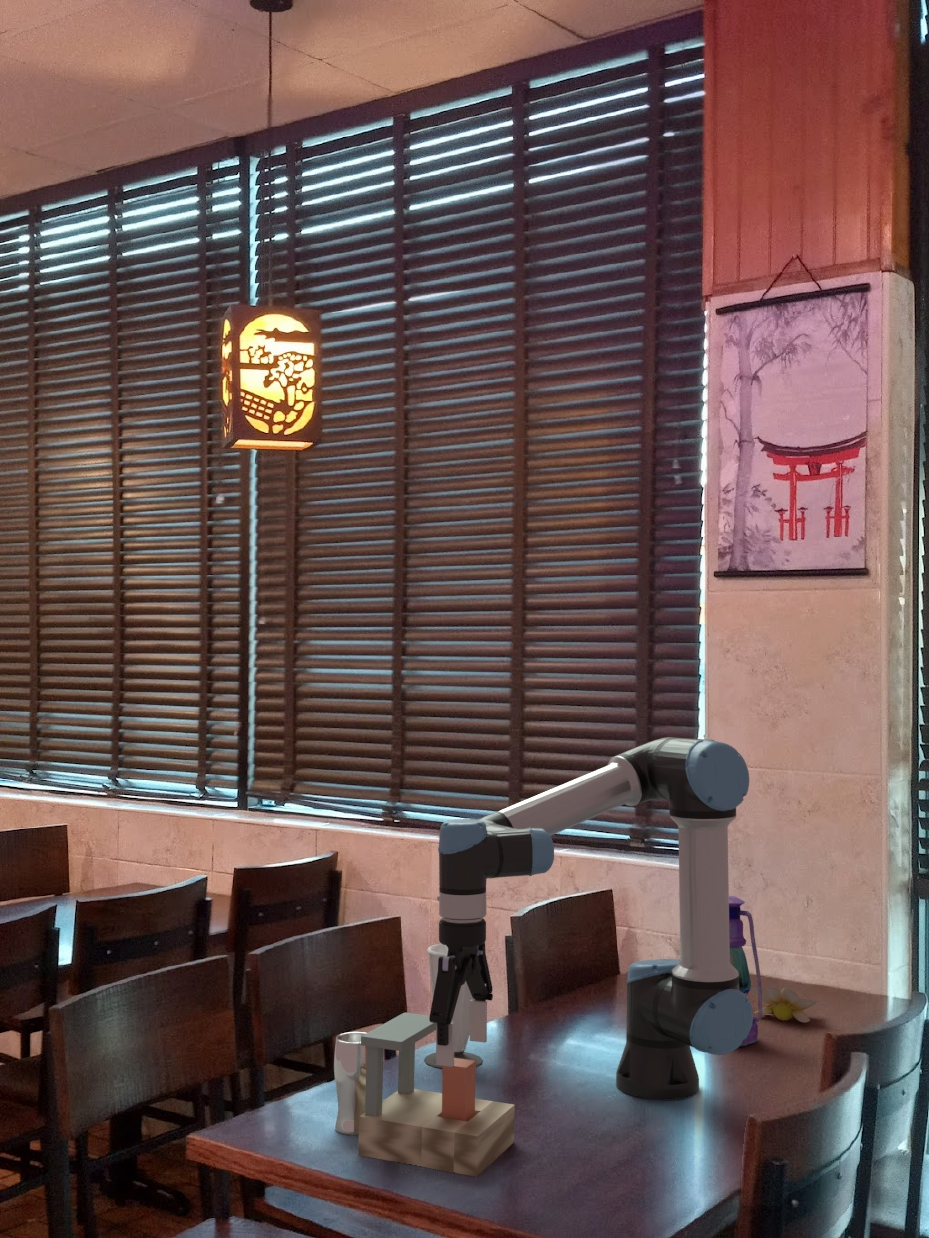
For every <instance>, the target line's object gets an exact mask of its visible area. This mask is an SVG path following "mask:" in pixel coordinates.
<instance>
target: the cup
mask: <svg viewBox="0 0 929 1238" xmlns="http://www.w3.org/2000/svg"><path fill="white" fill-rule="evenodd" d="M426 952H427V955H428V964H429V974H430V975H429V976H430V977H429V978H430V986H431V994H432V996H433V995H434V990H435V984H436V979H437V973H438V959H439V957H440V956H444V957H447V954H448V947H447V946H446V945H443V944H441V943H437V944H433V945H430V946H428V948H427V949H426ZM470 1000H475V999H473V998H472V995H471V993H470V990H469V987H468V985H467V982H466V981H465V984H463V985H462V986H461V988H460V992H459V996H458V999H457V1003H456V1007H455V1010H454V1014H453V1018H452V1021H451V1023H454V1058H460V1059H467V1060H473V1061H476V1068H477V1067H479V1066H481V1065H482V1064H483V1062H484V1060H483V1058H482V1057H481V1056H480V1055H477V1054H475V1053H472V1052H466V1048H467V1045H468V1042H469V1040H470ZM441 1015H442V1014H441ZM423 1061H424V1062H425V1064H426V1065H428V1066H430V1067H432V1068H437V1069H440V1070H443V1066H442V1065H436V1052H432V1053H430V1054H428V1055H426V1056H425V1058H424V1059H423Z"/></svg>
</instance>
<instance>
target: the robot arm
mask: <svg viewBox="0 0 929 1238" xmlns="http://www.w3.org/2000/svg"><path fill="white" fill-rule="evenodd" d="M749 772H750V771H749V770H748V765H747V762H746V760H745V759H744V757H743V755H741V753H739V751H738V750H737V749H736V748H735V747H733V746H732V745H731V744H728V743H726V742H722V741H720V742H719V741H716V740H714V739H708V738H707V739H702V738H686V737H678V736H677V737H676V736H667V737H662V738H658V739H655V740H651V741H649V742H646V743H644V744H641V745H638V746H637V747H634V748H631V749H629V750H627V751H624V752H622V753H619V754H617V755H615V756H612V757H610V759H609V760H608V763H607V765H605V766H603V767H601V768H598V769H595V770H594V771H592V772H588V773H586V774H584V775H581V776H579V777H577V778H575V779H572V780H569V781H568V782H565V783H563V784H560V785H558V786H556V787H553V788H551V789H548V790H545V791H543V792H541V793H539V794H537V795H534V796H532V797H529V798H527V799H524V800H522V801H520V802H517V803H515V804H512V805H510V806H508V807H506V808H502V809H501V810H498V811H495V812H493V813H490V814H488V815H486V816H483V817H481V818H476V817H469V818H468V817H466V818H457V819H449V820H446V821H443V823H442V824H441V826H440V828H439V834H438V835H439V836H438V837H439V838H438V840H439V841H438V848H437V851H438V865H439V866H438V871H439V872H438V874H439V875H438V879H439V880H438V881H439V883H438V885H439V886H438V893H439V895H437V897H436V900H437V902H438V903H439V904H438V905H439V910H438V911H439V912H438V915H439V917H441V918H440V919H439V920H438V921H439V922H438V941H439V944H443V945H446V946H447V947H448V954H447V957H444V956H440V957H439V959H438V973H437V979H436V984H435V990H434V995H432V1001H431V1006H430V1007H431V1008H430V1012H429V1016H430V1017H429V1020H430V1022H432V1023H436V1030H435V1031H436V1032H435V1039H436V1041H435V1053H436V1065H442V1066H449V1067H453V1066H454V1023H451V1021H452V1018H453V1014H454V1010H455V1007H456V1003H457V999H458V996H459V992H460V988H461V986H462V985H463V984H465V981H466V982H467V985H468V987H469V990H470V993H471V995H472V998H473V999H475V1000H470V1035H469V1042H475V1043H476V1042H477V1043H487V1042H488V1041H487V1040H488V1035H487V1034H488V1031H487V1030H488V1027H487V1026H488V1014H487V1013H488V1001H492V1000H493V998H494V995H493V990H494V989H493V984H492V979H491V975H490V969H489V964H488V959H487V955H486V954H487V953H486V941H487V921H486V920H485V919H484V918H485V917H487V879H499V878H511V877H525V876H528V877H532V876H535V875H540V874H545V873H547V872H548V871H550V869H551V868H552V866H553V863H554V860H555V845H554V841H553V838H552V836H554V835H556V834H558V833H560V832H563V831H565V830H567V829H569V828H572V827H574V826H577V825H579V824H581V823H583V822H586V821H588V820H591V819H593V818H596V817H597V816H599V815H602V814H604V813H607V812H610V811H611V810H614V809H616V808H618V807H621V806H623V805H626V806H629V807H634V806H637V805H639V804H642V803H645V802H648V801H668V806H669V808H668V809H669V810H668V811H669V813H668V814H669V817H670V819H671V820H672V821H673V822H675V824H676V825H677V828H678V874H679V875H678V880H679V881H678V884H679V885H678V887H679V888H678V891H679V893H678V895H679V896H678V897H679V898H678V899H679V948H680V949H679V952H680V953H679V954H680V955H679V958H680V959H673V958H671V959H668V958H664V959H663V958H661V959H644V960H639V961H635V962H633V963H631V964H630V965H629V966H628V970H627V978H626V982H625V984H626V1036H625V1037H626V1039H625V1040H626V1041H625V1045H624V1048H623V1052H622V1054H621V1058H620V1060H619V1064H618V1067H617V1069H616V1073H615V1077H616V1078H615V1086H616V1087H617V1088H618V1089H619V1090H621V1091H622V1092H623V1093H626V1094H629V1095H631V1096H633V1097H634V1096H635V1097H639V1098H643V1099H650V1100H651V1099H652V1100H662V1101H664V1100H667V1101H670V1100H681V1099H686V1098H690V1097H693V1096H695V1095H696V1094H698V1093H699V1091H700V1076H699V1073H698V1070H697V1065H696V1063H695V1059H694V1057H693V1053H692V1049H691V1047H692V1048H694V1049H695V1050H697V1051H699V1052H701V1053H707V1054H711V1055H713V1056H722V1055H723V1056H725V1055H727V1054H730V1053H732V1052H734V1051H735V1050H737V1049H739V1047H741V1046H740V1045H741V1043H742V1041H743V1040H745V1039H746V1038H747V1036H748V1034H749V1032H750V1029H751V1026H752V1022H753V1017H754V1009H753V1005H752V1003H751V1001H750V999H748V997H747V996H746V995H745V994H744V993H742V992H740V990H739V973H738V971H737V970H736V969H735V968H734V967H733V966H732V965H731V963H730V945H729V896H730V893H729V892H730V891H729V889H730V887H729V840H728V839H729V835H728V833H729V830H728V829H729V828H728V827H729V826H730V824H731V823H732V822H733V821H734V820H735V819H736V818H737V807H738V806H740V805H741V804H742V803H743V801H744V797H745V796H747V795H748V792H749V787H750V773H749ZM441 1014H442V1015H441Z"/></svg>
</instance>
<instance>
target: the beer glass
mask: <svg viewBox="0 0 929 1238" xmlns="http://www.w3.org/2000/svg"><path fill="white" fill-rule="evenodd" d="M366 1033H367V1032H364V1031H362V1032H361V1031H349V1032H344V1033H340V1034H337V1035H336V1036H335V1037H336V1038H335V1046H334V1047H335V1048H334V1058H333V1060H334V1061H333V1072H334V1081H335V1089H336V1095H337V1115H336V1122H335V1128H334V1129H335V1131H336V1132H337V1133H338V1134H341V1135H344V1136H359V1116H360V1115H362V1114H363V1113H365V1092H366V1050H367V1046H362V1045H361V1036H362V1035H364V1034H366Z"/></svg>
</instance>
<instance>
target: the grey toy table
mask: <svg viewBox="0 0 929 1238" xmlns="http://www.w3.org/2000/svg"><path fill="white" fill-rule="evenodd" d="M429 1017H430V1015H427V1014H419V1013H412V1012H403V1013H401V1014H399V1015H397V1016H395V1017H393V1018H392V1019H390V1020H389V1021H386V1022H385V1023H383V1024H380V1025H379V1026H378V1027H375V1028H373V1029H372V1030H370V1031H368V1032H365V1033H366V1034H364V1035H362V1036H361V1045H362V1046H367V1050H366V1092H365V1115H369V1116H375V1117H377V1116H378V1115H380V1114H381V1113H382V1101H383V1093H384V1092H383V1089H384V1087H383V1083H384V1050H390V1051H391V1050H392V1051H397V1052H398V1066H397V1068H398V1070H397V1071H398V1073H397V1074H398V1075H397V1076H398V1078H397V1091H398V1093H403V1094H410V1093H412V1092H413V1091H414V1089H415V1060H416V1057H415V1055H416V1054H415V1053H416V1052H415V1051H416V1048H415V1047H416V1043H418V1042H419V1041H420V1040H422V1039H423V1038H425V1037H427V1036H429V1035H430V1034H432V1033H433V1032H435V1031H436V1023H432V1022H430V1020H429Z"/></svg>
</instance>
